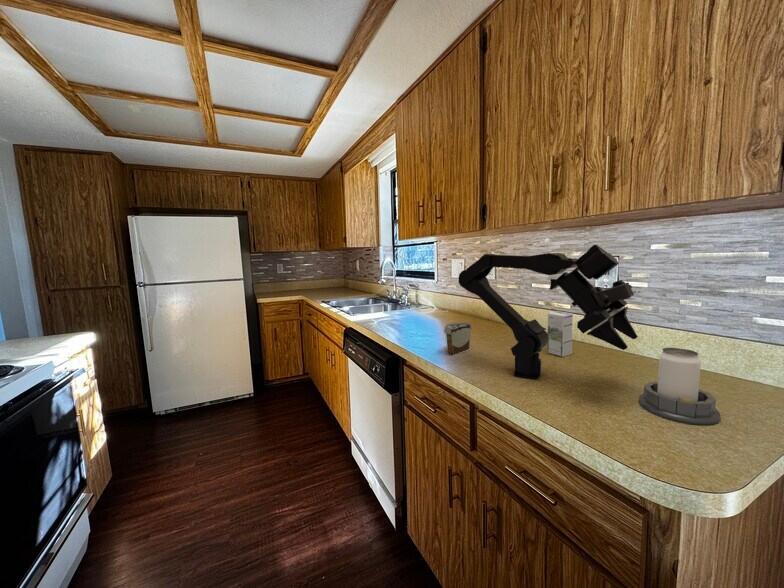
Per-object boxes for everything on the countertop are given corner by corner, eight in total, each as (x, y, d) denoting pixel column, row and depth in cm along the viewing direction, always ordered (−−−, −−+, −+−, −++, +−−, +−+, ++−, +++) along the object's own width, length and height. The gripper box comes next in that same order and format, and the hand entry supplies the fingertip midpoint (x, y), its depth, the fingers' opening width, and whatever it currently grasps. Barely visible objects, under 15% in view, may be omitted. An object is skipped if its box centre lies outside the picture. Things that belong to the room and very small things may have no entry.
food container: (458, 346, 121) (458, 320, 120) (471, 349, 117) (471, 323, 116) (437, 353, 114) (436, 326, 113) (450, 356, 109) (450, 328, 108)
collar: (645, 416, 65) (646, 395, 65) (633, 392, 76) (634, 374, 76) (732, 431, 59) (734, 408, 58) (705, 402, 70) (707, 383, 70)
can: (649, 398, 71) (652, 347, 70) (680, 398, 70) (684, 346, 69) (671, 411, 65) (675, 356, 63) (705, 412, 64) (710, 356, 63)
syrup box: (572, 354, 106) (573, 312, 105) (562, 357, 103) (563, 314, 102) (556, 350, 111) (557, 310, 110) (546, 353, 108) (547, 312, 107)
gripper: (596, 275, 67) (657, 335, 61) (620, 266, 79) (673, 315, 73) (556, 306, 74) (607, 361, 68) (583, 293, 86) (628, 339, 80)
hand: (630, 343), depth 72 cm, fingers open, 9 cm apart
